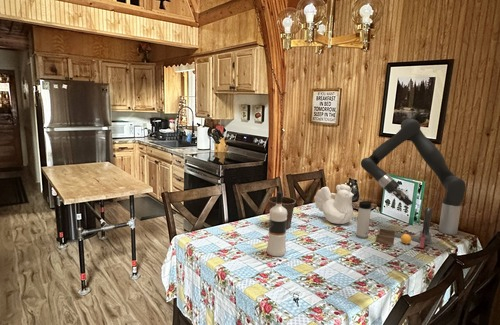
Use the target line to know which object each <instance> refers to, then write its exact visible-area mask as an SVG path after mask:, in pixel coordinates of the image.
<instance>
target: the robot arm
mask: <svg viewBox="0 0 500 325" xmlns="http://www.w3.org/2000/svg"><path fill="white" fill-rule="evenodd" d="M407 140H410V141H411V143H413V146H414V147H415V148H416V151H417V152H418V153H419V155H420V156H421V157H422V158H421V159H423V161H424V163H426V165H427V166H428V167H429V168H430V169H431V171H432V172H434V174H435V175H436V176H437V178H438V179H439V181H440V184H441V185H442V187H443V189H445V190H446V195H445V196H444V197H443V198H442V203H441V210H440V218H439V219H440V220H439V225H438V231H439V232H440V233H442V234H444V235H448V236H449V235H450V236H456V235H457V233H458V229H459V228H458V227H459V222H460V216H461V208H462V203H463V201H464V199H465V194H466V187H467V185H466V181H465V180H463V179H462V178H460V177H458V176H456V175H455V174H454V173H453V172H452V171H451V170H450V169H449V167H448V166H447V163H446V160H445V158H444V155H443V153H441V151H440V150H439V149H438V147H436V145H435V144H434V143H433V142H432V141H431V140H430V139H429V138H428V137H426V135H425V133H423V131H422V130H421V124H420V122H419V120H416V119H414V118H406V119H404V120H402V121H401V123H400V129H399V131H397V132H396V133H395V134H394V135H393V136H391V137H390V138H388V139H387V140H386V141H383V142H382V143H381V144H380V145H379V146H378V147H376V148H375V149H374V150H373V151H372V154H371V155H370V156H369V157H364V158H362V159H361V161H360V166H361V168H362V169H363V170H365V171H366V172H367V173H368V174H369V175H370V176H372V178H373V179H374V180H375V181H376V182H377V183H378V184H379V185H380V186H381V188H383V189H384V190H385V191H386V192H387V193H388V194H389V195H390V194H392V195H394V196H395V197H396V198H397V199H398V200H399V202H402V203H403V204H404V205H405V206H407V207H409V206H411V205H413V203H414V202H413V201H412V200H411V199H410V198H409V196H408V195H407V194H406V193H404V192H403V191H402V189H398V187H400V184H399V183H398V182H397V181H396V180H395V179H394V178H393V177H392V176H391V175H389V174H388V173H387V172H386V171H385V170H384V169H383V168H381V167H379V166H378V165H379V163H380V162H382V160H383V159H385V158H386V157H387V156H388V155H389V154H391V153H392V152H393V151H394V150H396V148H398V146H400V145H401V144H403V143H404V142H406V141H407Z"/></svg>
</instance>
